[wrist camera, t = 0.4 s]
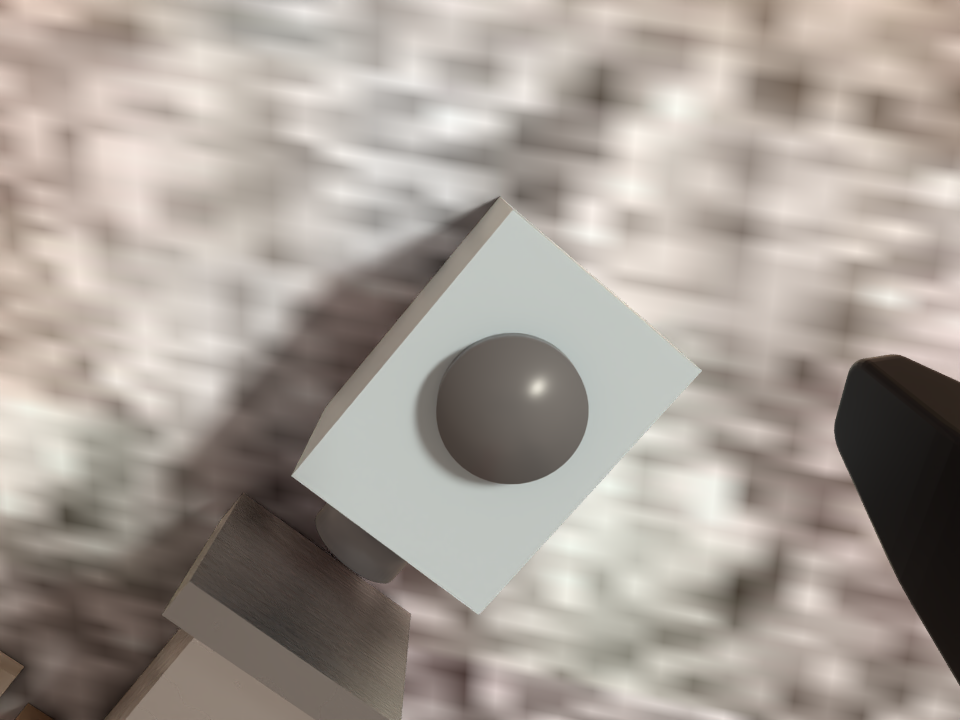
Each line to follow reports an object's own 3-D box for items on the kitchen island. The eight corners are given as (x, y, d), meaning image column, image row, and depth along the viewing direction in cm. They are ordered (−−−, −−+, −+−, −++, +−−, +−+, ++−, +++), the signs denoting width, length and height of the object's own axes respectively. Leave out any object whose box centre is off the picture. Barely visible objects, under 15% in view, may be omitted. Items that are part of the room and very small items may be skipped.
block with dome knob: (648, 322, 23) (709, 376, 17) (438, 558, 24) (434, 677, 19) (499, 195, 22) (514, 211, 16) (291, 448, 23) (242, 539, 18)
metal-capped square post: (410, 613, 24) (400, 727, 19) (205, 844, 25) (149, 1001, 21) (186, 451, 23) (116, 530, 18) (-16, 704, 24) (-128, 838, 19)
